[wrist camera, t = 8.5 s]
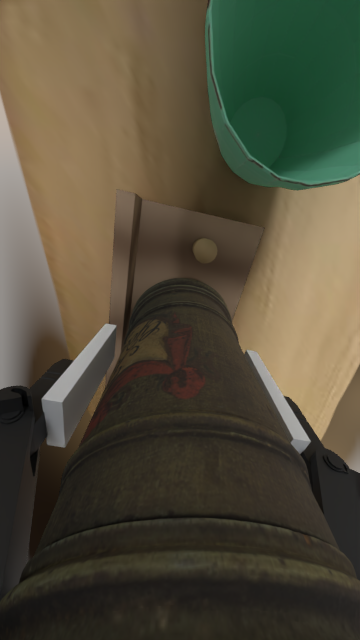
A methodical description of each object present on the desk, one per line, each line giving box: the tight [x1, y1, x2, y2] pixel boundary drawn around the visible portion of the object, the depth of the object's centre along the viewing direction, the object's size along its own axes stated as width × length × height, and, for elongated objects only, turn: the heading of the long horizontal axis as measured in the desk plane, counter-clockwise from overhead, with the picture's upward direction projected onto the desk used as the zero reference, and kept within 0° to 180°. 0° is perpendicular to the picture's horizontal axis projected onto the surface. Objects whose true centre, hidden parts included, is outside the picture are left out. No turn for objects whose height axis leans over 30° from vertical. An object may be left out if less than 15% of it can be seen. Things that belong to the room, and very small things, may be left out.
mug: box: [205, 0, 360, 190], centre depth 10 cm, size 15×10×10 cm
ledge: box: [105, 189, 264, 388], centre depth 19 cm, size 19×11×6 cm, turn 168°
